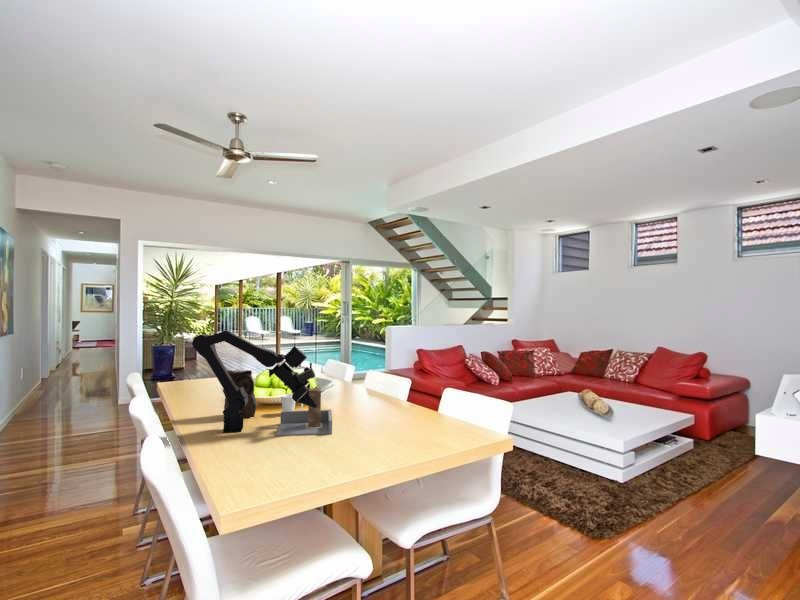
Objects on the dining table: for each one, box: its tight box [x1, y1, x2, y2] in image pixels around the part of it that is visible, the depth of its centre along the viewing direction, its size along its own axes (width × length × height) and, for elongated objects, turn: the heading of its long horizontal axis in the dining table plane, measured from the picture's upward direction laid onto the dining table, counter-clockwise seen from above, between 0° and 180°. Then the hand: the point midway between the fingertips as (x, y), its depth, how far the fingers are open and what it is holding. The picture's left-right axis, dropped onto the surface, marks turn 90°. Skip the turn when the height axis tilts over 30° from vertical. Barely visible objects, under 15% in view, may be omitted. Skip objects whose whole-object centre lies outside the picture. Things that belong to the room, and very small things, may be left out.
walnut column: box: [307, 387, 322, 427], centre depth 166 cm, size 5×5×14 cm
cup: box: [280, 393, 304, 411], centre depth 185 cm, size 7×10×8 cm
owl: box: [222, 369, 257, 419], centre depth 180 cm, size 13×13×20 cm
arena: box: [275, 409, 333, 437], centre depth 163 cm, size 20×17×5 cm
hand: (316, 404), depth 166 cm, fingers open, 9 cm apart
